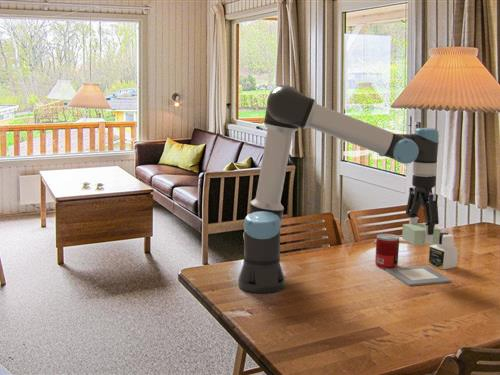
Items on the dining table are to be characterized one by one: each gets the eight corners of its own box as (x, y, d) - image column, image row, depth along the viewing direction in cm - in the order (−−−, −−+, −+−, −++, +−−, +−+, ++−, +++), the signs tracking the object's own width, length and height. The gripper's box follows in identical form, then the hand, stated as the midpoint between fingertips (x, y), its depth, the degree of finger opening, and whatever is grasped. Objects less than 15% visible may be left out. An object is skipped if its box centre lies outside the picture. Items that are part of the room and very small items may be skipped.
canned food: (398, 269, 209) (400, 239, 206) (375, 268, 210) (377, 238, 208) (396, 262, 216) (398, 234, 214) (374, 261, 217) (376, 233, 215)
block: (414, 245, 194) (414, 230, 193) (402, 238, 203) (402, 224, 202) (439, 243, 196) (439, 229, 195) (426, 236, 205) (426, 222, 204)
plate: (409, 285, 192) (409, 283, 192) (385, 270, 207) (385, 268, 207) (451, 281, 196) (451, 279, 196) (425, 267, 211) (425, 265, 211)
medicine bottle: (428, 264, 215) (430, 232, 213) (442, 261, 218) (444, 230, 216) (442, 269, 209) (444, 237, 206) (457, 267, 212) (459, 235, 210)
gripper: (453, 179, 186) (448, 247, 190) (416, 169, 207) (413, 230, 211) (432, 180, 184) (428, 249, 188) (397, 169, 205) (394, 232, 209)
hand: (420, 239), depth 199 cm, fingers closed on block, 9 cm apart
